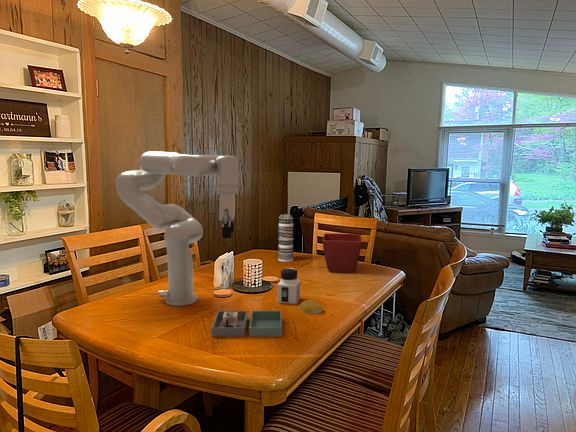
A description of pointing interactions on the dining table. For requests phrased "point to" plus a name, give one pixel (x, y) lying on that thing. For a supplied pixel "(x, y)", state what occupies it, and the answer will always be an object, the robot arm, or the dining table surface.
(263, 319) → the green-grey bin
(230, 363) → the dining table surface
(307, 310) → the bread roll
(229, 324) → the letter cube
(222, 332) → the charcoal bin
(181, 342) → the dining table surface
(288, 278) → the container
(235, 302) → the dining table surface
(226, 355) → the dining table surface
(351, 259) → the plant pot
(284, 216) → the decorative candle
